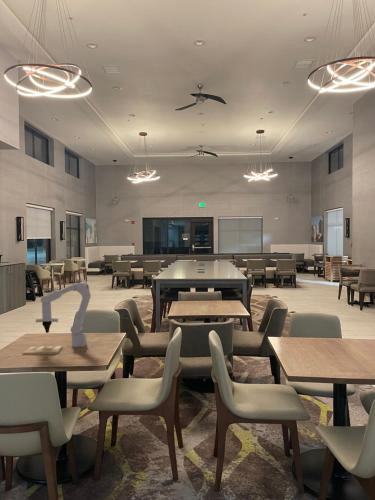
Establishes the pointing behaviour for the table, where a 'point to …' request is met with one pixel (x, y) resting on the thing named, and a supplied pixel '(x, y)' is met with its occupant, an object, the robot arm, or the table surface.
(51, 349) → the plank
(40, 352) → the floor base
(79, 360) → the table surface
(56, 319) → the robot arm
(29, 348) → the plank
